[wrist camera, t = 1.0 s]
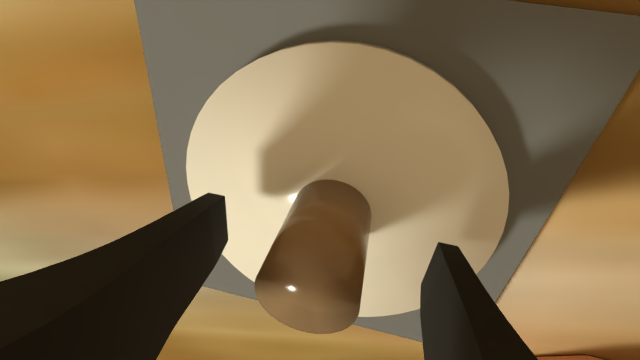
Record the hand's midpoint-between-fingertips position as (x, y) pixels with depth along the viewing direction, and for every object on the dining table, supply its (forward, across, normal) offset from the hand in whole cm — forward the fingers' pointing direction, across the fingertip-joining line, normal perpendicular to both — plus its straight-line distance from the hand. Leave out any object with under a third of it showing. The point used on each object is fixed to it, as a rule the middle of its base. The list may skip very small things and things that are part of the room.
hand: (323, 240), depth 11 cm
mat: (+3, 0, 0) cm, 3 cm away
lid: (+2, 0, 0) cm, 2 cm away
